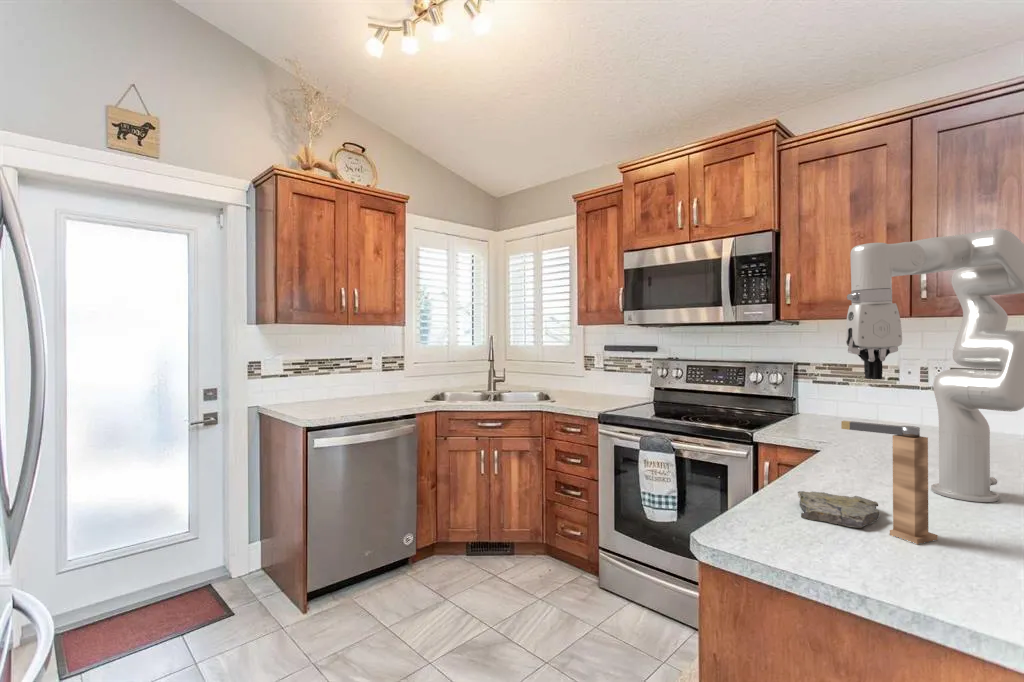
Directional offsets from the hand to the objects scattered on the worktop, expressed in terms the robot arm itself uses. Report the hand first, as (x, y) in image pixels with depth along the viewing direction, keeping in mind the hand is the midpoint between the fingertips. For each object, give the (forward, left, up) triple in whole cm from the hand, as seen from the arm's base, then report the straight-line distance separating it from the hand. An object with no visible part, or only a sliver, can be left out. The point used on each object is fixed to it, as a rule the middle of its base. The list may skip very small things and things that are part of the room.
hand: (873, 378), depth 114 cm
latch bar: (+10, +8, -10) cm, 16 cm away
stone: (+10, 0, -31) cm, 33 cm away
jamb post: (+8, +13, -30) cm, 34 cm away
